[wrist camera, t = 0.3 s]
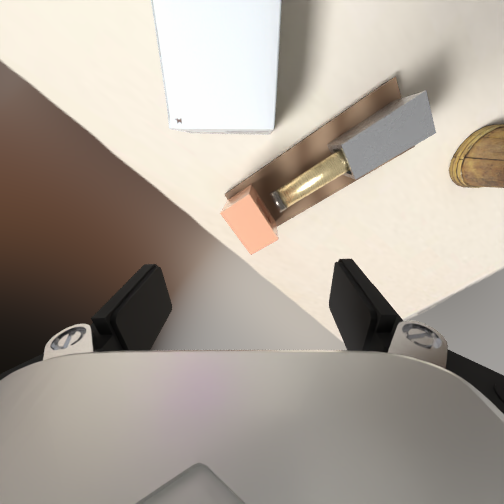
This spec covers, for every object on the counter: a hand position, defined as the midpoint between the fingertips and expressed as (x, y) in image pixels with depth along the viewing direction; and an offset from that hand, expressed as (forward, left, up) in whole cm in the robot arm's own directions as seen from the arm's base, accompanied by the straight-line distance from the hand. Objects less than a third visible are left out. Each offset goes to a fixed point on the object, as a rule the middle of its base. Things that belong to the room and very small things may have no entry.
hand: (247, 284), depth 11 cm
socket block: (+3, +3, -27) cm, 28 cm away
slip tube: (-12, +3, -25) cm, 28 cm away
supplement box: (-6, -16, -29) cm, 34 cm away
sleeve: (-18, +3, -27) cm, 33 cm away
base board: (-9, +3, -29) cm, 30 cm away
